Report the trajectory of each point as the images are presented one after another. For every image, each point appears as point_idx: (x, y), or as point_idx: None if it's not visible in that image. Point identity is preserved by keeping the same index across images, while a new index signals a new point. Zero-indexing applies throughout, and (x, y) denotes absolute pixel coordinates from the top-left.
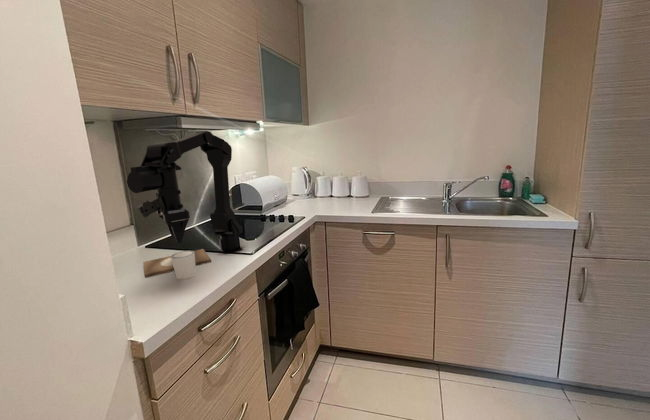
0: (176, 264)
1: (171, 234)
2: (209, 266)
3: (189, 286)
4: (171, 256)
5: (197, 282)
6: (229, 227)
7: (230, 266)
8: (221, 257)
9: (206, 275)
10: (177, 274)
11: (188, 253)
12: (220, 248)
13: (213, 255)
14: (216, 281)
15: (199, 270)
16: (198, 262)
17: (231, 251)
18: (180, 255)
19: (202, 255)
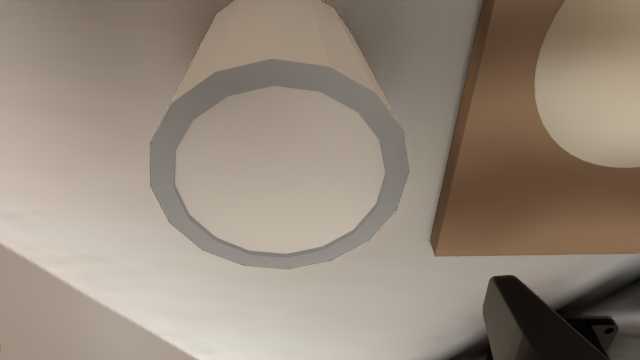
0: (194, 65)
1: (506, 305)
2: None
3: (6, 49)
4: (295, 72)
5: (64, 109)
6: None
7: (241, 305)
8: (458, 296)
9: None
10: (231, 12)
11: (272, 224)
12: (585, 329)
13: (549, 269)
14: (14, 208)
15: None
16: (450, 183)
17: (491, 353)
18: (262, 156)
19: (574, 228)
